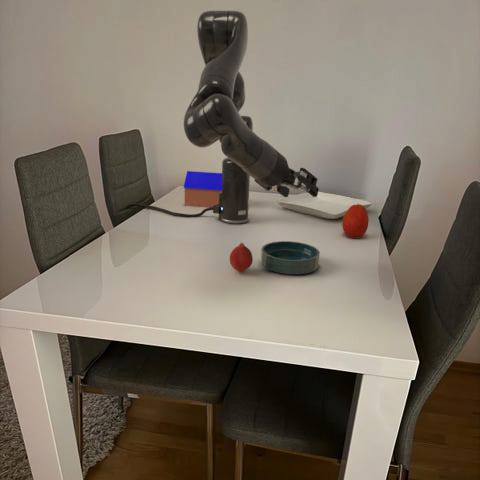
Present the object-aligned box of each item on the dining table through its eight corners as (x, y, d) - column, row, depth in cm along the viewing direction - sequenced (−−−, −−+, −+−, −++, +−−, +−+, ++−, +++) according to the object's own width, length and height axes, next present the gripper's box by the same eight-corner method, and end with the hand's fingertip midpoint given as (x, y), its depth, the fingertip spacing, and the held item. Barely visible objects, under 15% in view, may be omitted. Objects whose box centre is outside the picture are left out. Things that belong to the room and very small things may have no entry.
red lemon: (228, 268, 118) (229, 238, 114) (250, 268, 118) (252, 238, 114) (230, 277, 113) (230, 246, 109) (253, 277, 113) (254, 246, 109)
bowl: (250, 267, 119) (251, 252, 117) (276, 251, 130) (277, 237, 128) (304, 281, 112) (305, 265, 110) (326, 263, 124) (328, 248, 122)
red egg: (349, 230, 151) (354, 198, 146) (371, 236, 146) (377, 203, 141) (335, 235, 146) (340, 202, 141) (357, 242, 141) (363, 207, 136)
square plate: (372, 211, 175) (374, 201, 173) (334, 224, 157) (335, 213, 155) (314, 198, 191) (315, 189, 189) (273, 209, 173) (274, 198, 171)
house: (235, 209, 171) (236, 177, 165) (183, 205, 173) (183, 173, 168) (240, 201, 181) (241, 171, 176) (191, 198, 184) (191, 168, 178)
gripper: (293, 142, 93) (331, 177, 105) (242, 148, 103) (282, 179, 115) (283, 177, 93) (322, 208, 105) (233, 179, 102) (274, 207, 115)
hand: (301, 193), depth 110 cm, fingers open, 8 cm apart
